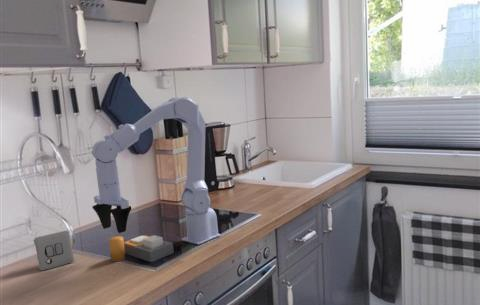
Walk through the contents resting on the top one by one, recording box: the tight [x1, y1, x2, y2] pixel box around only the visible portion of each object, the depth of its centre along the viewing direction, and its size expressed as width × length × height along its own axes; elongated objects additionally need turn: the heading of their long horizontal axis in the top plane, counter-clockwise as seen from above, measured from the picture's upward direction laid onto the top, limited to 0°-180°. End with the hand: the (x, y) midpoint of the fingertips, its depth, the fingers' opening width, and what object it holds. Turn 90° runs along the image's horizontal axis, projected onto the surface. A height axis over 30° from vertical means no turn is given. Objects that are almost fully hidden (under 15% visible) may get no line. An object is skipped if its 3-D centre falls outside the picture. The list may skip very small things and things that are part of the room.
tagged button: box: [129, 235, 148, 245], centre depth 135 cm, size 4×4×3 cm
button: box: [143, 235, 164, 249], centre depth 130 cm, size 4×4×3 cm
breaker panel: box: [124, 234, 175, 263], centre depth 133 cm, size 8×14×3 cm, turn 48°
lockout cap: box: [108, 235, 126, 262], centre depth 130 cm, size 4×4×6 cm
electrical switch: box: [33, 230, 75, 271], centre depth 130 cm, size 9×5×9 cm, turn 124°
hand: (114, 229), depth 129 cm, fingers open, 7 cm apart
